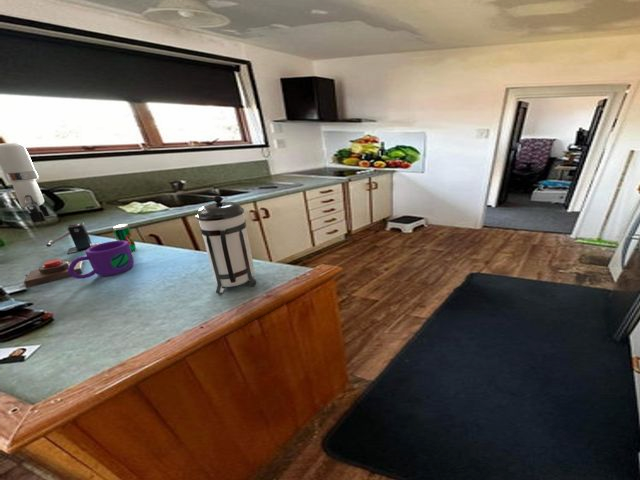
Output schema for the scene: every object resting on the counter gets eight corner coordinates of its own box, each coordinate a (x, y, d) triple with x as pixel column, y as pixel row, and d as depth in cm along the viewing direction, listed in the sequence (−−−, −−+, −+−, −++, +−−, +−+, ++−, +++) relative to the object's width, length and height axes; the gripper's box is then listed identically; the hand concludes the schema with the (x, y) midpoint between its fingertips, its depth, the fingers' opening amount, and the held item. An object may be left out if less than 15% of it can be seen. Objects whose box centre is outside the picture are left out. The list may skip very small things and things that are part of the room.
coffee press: (197, 291, 86) (171, 200, 77) (239, 268, 100) (221, 189, 91) (236, 302, 80) (214, 205, 71) (275, 276, 94) (261, 192, 85)
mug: (125, 261, 109) (116, 238, 105) (143, 265, 105) (135, 241, 102) (65, 283, 93) (53, 257, 90) (84, 289, 89) (72, 262, 86)
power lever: (50, 248, 112) (44, 244, 111) (51, 245, 116) (45, 241, 114) (83, 230, 118) (77, 226, 116) (83, 227, 121) (78, 223, 120)
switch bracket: (68, 255, 115) (57, 230, 111) (70, 250, 121) (59, 225, 117) (101, 248, 122) (91, 224, 118) (101, 244, 127) (92, 220, 123)
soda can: (120, 252, 117) (110, 226, 114) (135, 248, 121) (126, 223, 117) (123, 255, 115) (113, 228, 111) (138, 250, 119) (129, 225, 115)
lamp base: (27, 287, 91) (21, 276, 90) (33, 275, 99) (28, 266, 98) (82, 273, 100) (78, 263, 99) (84, 264, 107) (80, 254, 106)
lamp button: (44, 269, 96) (42, 265, 95) (46, 266, 98) (44, 261, 98) (61, 265, 98) (59, 261, 98) (62, 262, 101) (60, 258, 100)
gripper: (12, 175, 107) (32, 216, 113) (-1, 180, 95) (22, 226, 101) (41, 173, 112) (59, 213, 118) (33, 177, 100) (52, 221, 106)
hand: (42, 219), depth 109 cm, fingers open, 9 cm apart
